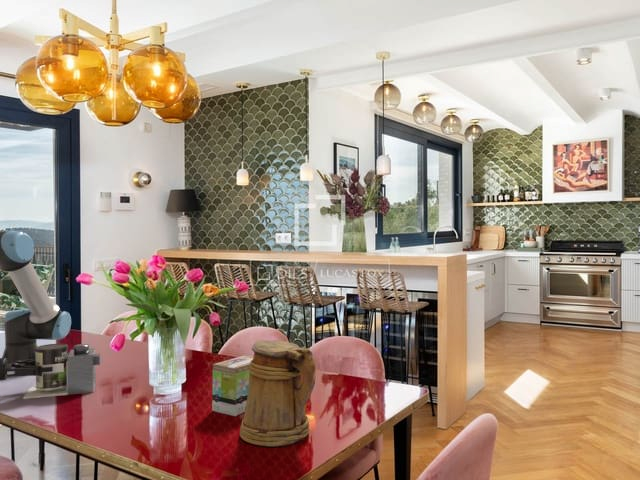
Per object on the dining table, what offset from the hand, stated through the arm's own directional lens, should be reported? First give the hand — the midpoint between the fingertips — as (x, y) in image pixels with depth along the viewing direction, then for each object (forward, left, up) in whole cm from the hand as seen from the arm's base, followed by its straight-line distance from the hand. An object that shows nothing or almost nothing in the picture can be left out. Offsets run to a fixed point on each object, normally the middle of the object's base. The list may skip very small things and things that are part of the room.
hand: (65, 364), depth 189 cm
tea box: (+40, +54, -10) cm, 68 cm away
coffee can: (0, -4, -8) cm, 9 cm away
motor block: (0, +5, -9) cm, 11 cm away
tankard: (+68, +60, -9) cm, 91 cm away
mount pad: (0, -5, -9) cm, 11 cm away
